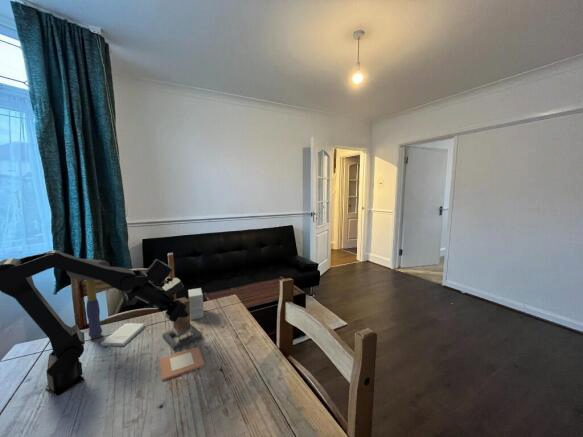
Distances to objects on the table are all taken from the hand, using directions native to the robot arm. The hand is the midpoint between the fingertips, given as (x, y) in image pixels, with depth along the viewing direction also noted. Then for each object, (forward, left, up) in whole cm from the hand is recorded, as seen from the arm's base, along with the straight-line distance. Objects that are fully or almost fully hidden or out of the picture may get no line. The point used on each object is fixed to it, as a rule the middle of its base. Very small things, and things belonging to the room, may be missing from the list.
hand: (185, 313), depth 93 cm
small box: (+14, +8, -10) cm, 19 cm away
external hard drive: (-9, +22, -10) cm, 26 cm away
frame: (-1, 0, -9) cm, 9 cm away
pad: (-11, -10, -9) cm, 18 cm away
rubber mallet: (-14, +30, -9) cm, 35 cm away
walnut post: (-1, 0, -7) cm, 7 cm away
